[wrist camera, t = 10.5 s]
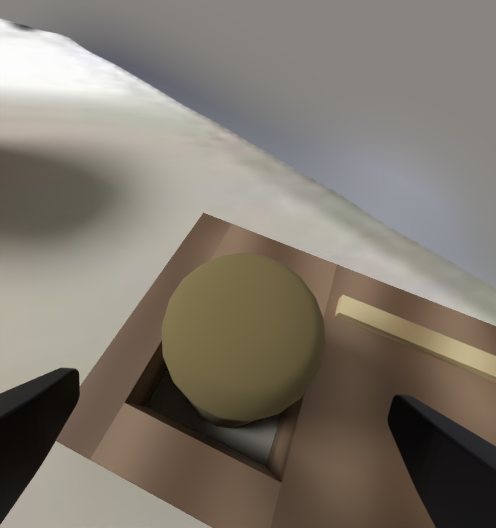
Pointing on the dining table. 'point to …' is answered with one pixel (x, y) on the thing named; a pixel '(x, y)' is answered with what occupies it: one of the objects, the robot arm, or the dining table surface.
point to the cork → (242, 338)
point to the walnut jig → (299, 413)
